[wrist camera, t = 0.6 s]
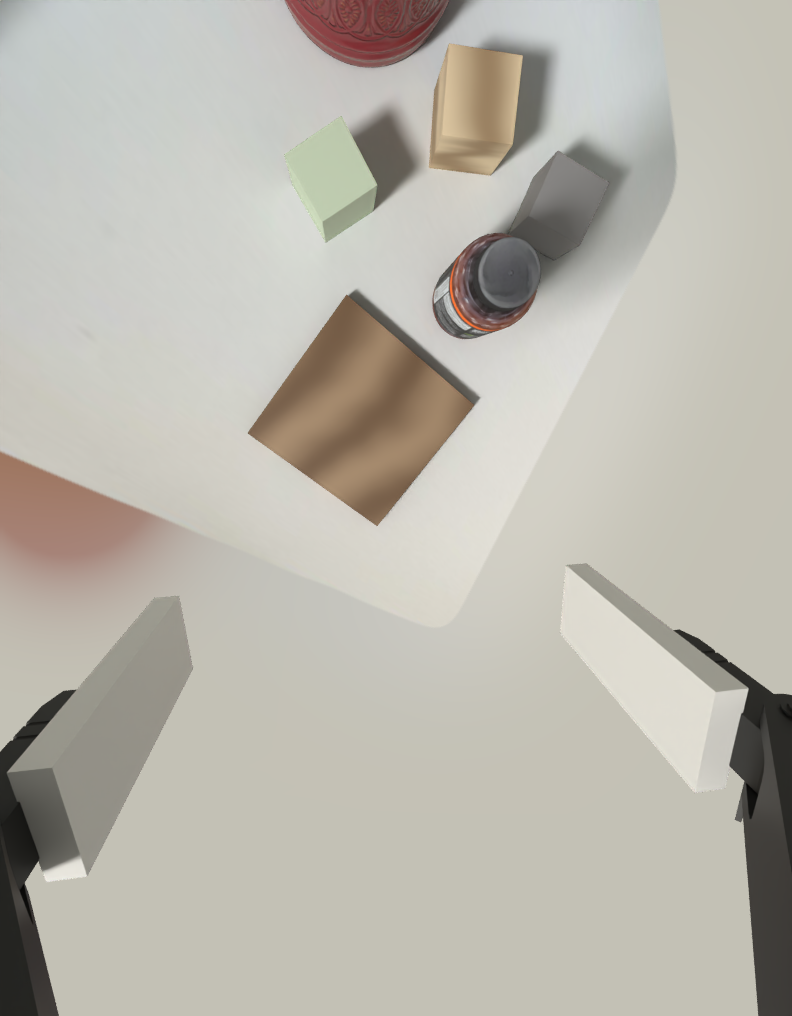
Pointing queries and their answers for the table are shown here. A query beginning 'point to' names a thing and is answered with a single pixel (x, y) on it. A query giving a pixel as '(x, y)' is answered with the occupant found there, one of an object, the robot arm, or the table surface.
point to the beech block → (474, 109)
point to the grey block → (558, 206)
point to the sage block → (332, 179)
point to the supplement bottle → (487, 286)
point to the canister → (367, 27)
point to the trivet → (360, 413)
